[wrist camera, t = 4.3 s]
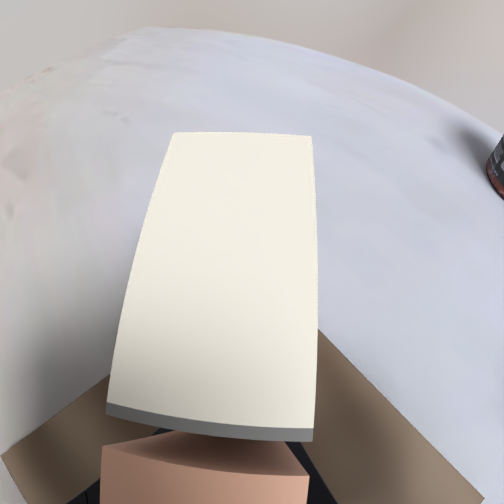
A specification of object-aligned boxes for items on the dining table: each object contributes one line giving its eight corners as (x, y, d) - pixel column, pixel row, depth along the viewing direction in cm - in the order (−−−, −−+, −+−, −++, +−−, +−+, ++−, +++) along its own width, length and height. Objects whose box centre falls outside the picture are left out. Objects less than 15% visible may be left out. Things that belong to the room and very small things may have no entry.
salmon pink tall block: (269, 487, 11) (286, 616, 2) (201, 481, 11) (104, 585, 2) (274, 427, 12) (309, 475, 3) (206, 421, 12) (102, 446, 4)
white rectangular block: (274, 416, 13) (312, 441, 4) (208, 410, 13) (105, 414, 4) (281, 299, 15) (311, 136, 6) (221, 295, 16) (173, 132, 6)
